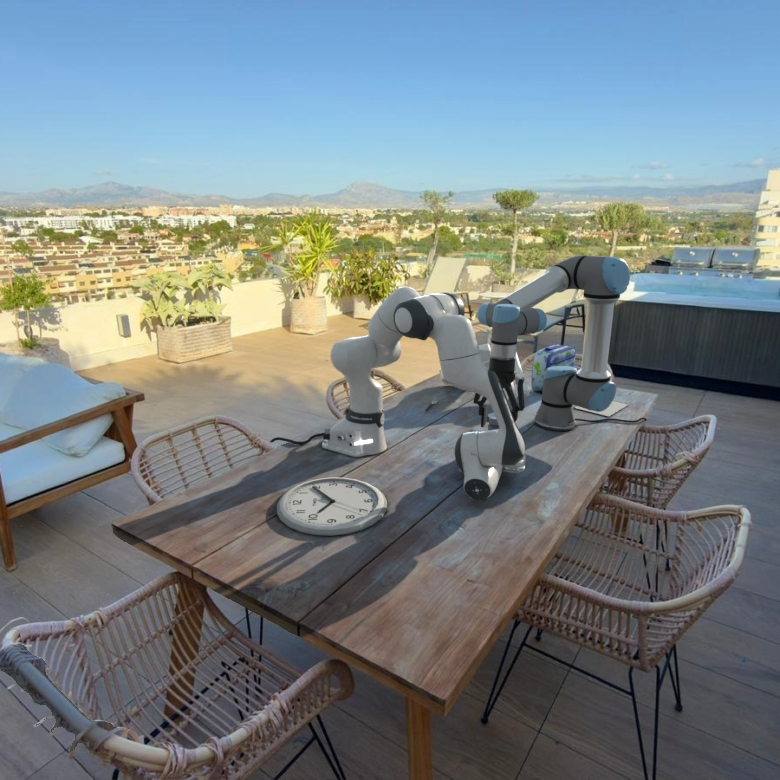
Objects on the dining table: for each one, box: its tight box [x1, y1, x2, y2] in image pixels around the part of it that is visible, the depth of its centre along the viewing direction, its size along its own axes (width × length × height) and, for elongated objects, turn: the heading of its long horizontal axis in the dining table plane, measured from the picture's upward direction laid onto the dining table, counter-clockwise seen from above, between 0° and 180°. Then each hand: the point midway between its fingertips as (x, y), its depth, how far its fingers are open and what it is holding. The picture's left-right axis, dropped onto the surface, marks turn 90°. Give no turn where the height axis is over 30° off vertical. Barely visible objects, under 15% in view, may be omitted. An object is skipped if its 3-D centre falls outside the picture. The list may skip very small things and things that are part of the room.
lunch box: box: [530, 344, 577, 392], centre depth 247 cm, size 26×11×21 cm, turn 134°
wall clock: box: [276, 476, 388, 537], centre depth 142 cm, size 30×2×30 cm
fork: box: [425, 396, 439, 412], centre depth 222 cm, size 3×16×2 cm, turn 160°
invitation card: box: [573, 400, 629, 418], centre depth 226 cm, size 21×1×15 cm
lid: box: [486, 412, 499, 426], centre depth 162 cm, size 6×6×2 cm
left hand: (495, 448), depth 165 cm, fingers closed on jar, 5 cm apart
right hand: (496, 428), depth 163 cm, fingers open, 8 cm apart
